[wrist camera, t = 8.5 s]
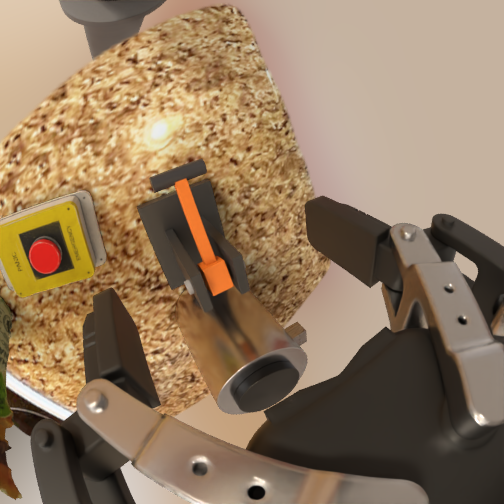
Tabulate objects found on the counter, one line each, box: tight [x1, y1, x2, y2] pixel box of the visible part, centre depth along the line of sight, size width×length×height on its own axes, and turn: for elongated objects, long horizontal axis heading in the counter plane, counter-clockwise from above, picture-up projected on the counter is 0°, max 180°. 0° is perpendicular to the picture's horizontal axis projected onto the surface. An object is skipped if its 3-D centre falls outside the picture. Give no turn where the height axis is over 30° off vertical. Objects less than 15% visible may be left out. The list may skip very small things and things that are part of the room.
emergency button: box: [0, 190, 106, 298], centre depth 23 cm, size 9×4×15 cm
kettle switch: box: [149, 159, 234, 296], centre depth 25 cm, size 12×5×2 cm, turn 12°
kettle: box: [175, 280, 307, 414], centre depth 35 cm, size 14×14×17 cm
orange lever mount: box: [137, 179, 250, 312], centre depth 29 cm, size 12×9×12 cm
